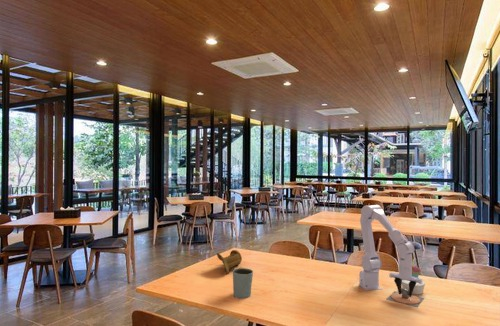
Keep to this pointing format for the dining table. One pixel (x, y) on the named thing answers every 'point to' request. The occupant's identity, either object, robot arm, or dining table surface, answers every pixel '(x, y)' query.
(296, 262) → the dining table surface
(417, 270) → the cupcake
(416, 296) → the mat
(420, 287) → the ramekin
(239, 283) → the grey cup
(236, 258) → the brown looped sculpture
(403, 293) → the lid
